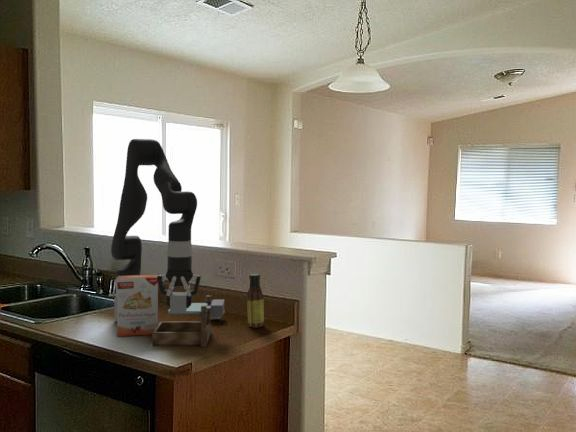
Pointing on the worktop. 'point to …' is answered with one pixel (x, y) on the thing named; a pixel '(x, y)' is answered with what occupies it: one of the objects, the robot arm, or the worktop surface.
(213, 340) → the worktop surface
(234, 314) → the worktop surface
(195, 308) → the trapdoor
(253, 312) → the sauce bottle
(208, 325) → the frame
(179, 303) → the gray cube
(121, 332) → the cracker box
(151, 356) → the worktop surface
